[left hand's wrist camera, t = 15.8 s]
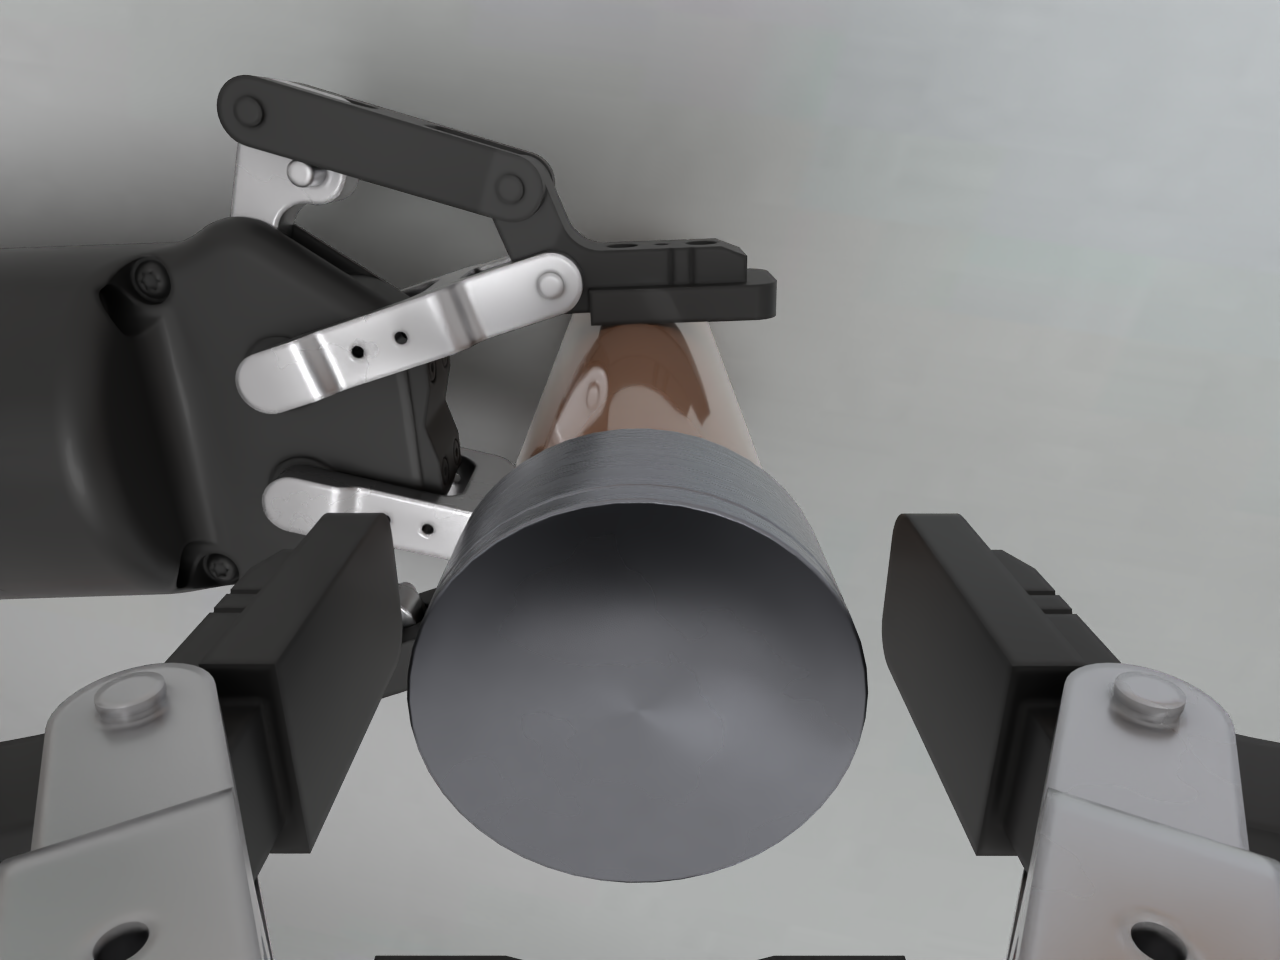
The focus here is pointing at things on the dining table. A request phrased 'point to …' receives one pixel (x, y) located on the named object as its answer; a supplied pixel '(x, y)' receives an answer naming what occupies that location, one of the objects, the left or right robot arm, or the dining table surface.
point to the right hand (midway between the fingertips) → (764, 401)
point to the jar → (638, 386)
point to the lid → (637, 661)
